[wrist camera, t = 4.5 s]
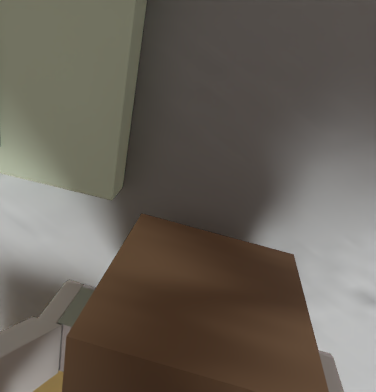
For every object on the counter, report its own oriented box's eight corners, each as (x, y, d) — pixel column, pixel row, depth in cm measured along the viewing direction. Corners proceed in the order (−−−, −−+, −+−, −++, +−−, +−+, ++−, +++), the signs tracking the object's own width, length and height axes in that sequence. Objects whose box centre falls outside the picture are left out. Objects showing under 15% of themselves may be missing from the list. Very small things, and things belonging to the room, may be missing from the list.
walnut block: (293, 254, 10) (335, 414, 6) (247, 359, 12) (250, 536, 8) (141, 213, 10) (66, 336, 6) (121, 323, 13) (54, 476, 8)
